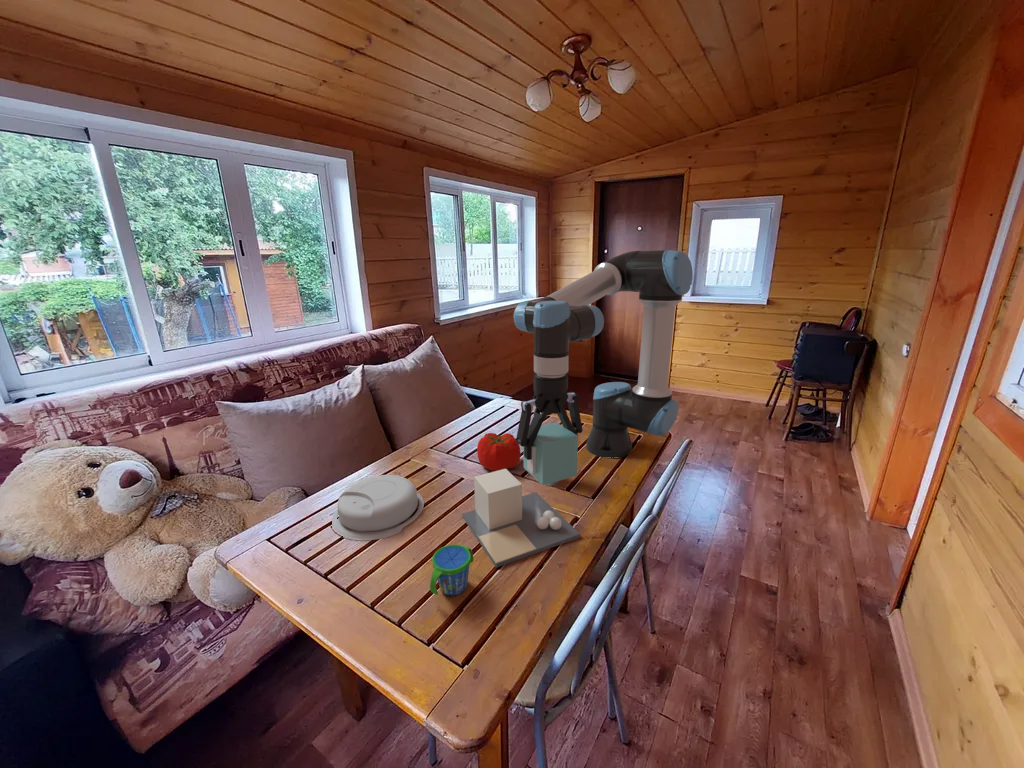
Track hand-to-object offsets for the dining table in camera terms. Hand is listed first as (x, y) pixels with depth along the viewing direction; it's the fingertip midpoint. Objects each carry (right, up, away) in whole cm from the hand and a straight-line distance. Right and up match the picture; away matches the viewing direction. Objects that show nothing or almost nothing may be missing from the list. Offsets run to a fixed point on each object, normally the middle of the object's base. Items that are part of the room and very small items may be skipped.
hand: (549, 466), depth 99 cm
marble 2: (0, -15, +7) cm, 17 cm away
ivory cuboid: (-12, -14, +10) cm, 21 cm away
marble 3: (+2, -16, +4) cm, 17 cm away
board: (-7, -16, +6) cm, 19 cm away
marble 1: (-1, -16, +4) cm, 17 cm away
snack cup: (-21, -23, -12) cm, 33 cm away
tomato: (-13, -7, +36) cm, 39 cm away
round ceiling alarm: (-44, -15, +15) cm, 49 cm away
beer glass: (+2, -10, +27) cm, 29 cm away
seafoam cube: (0, -1, 0) cm, 1 cm away
